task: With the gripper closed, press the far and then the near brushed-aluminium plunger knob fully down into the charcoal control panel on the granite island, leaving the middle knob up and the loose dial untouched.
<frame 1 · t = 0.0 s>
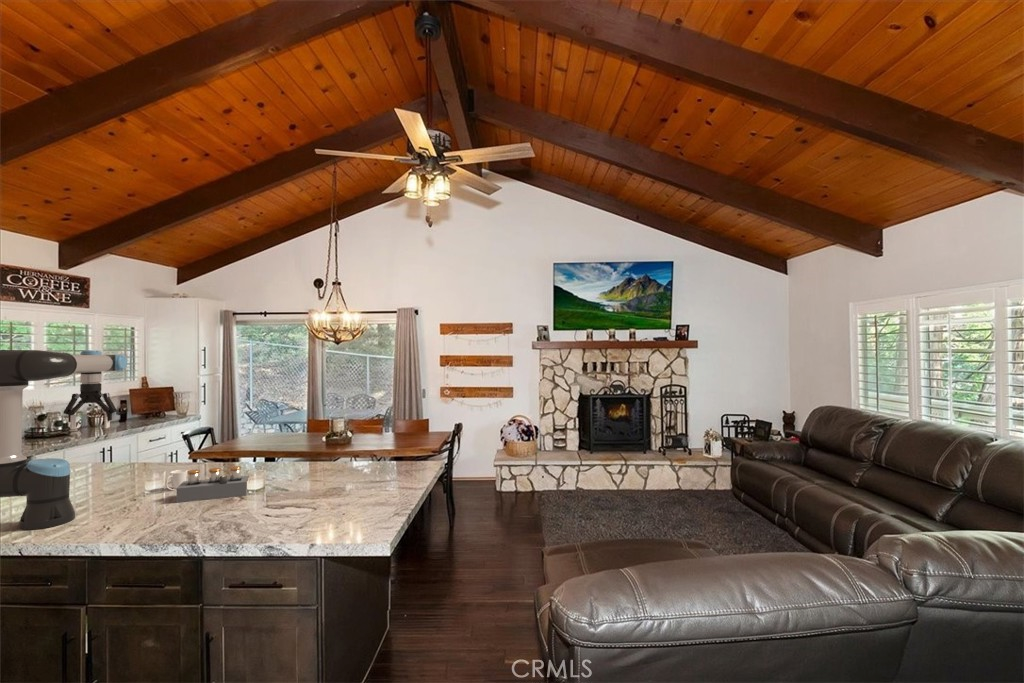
hand: (90, 428, 226), 28 cm above the countertop, fingers open, 13 cm apart
cup: (175, 490, 223), on the countertop
knob near: (193, 478, 212), point 8 cm above the countertop, slide at 0.0 cm
knob far: (235, 474, 218), point 8 cm above the countertop, slide at 0.0 cm
knob mid: (214, 476, 215), point 8 cm above the countertop, slide at 0.0 cm
panel: (214, 495, 214), on the countertop
dial: (223, 483, 212), point 6 cm above the countertop, touching panel
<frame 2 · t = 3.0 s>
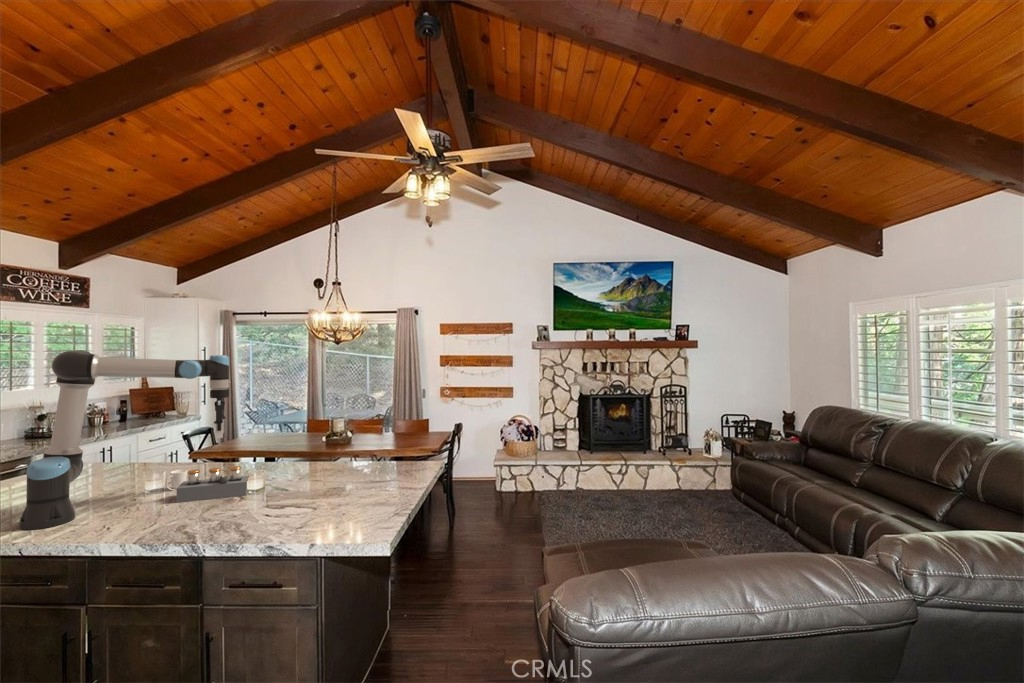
hand: (219, 435, 219), 26 cm above the countertop, fingers open, 13 cm apart
nothing on the countertop moved.
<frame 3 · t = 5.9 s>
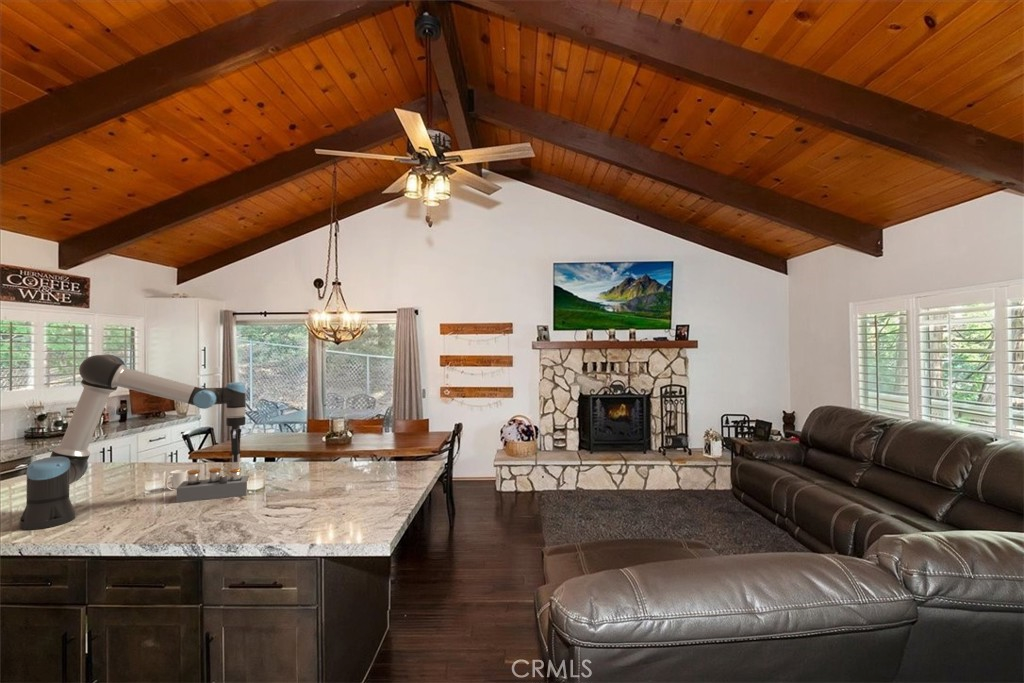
hand: (235, 468, 218), 11 cm above the countertop, fingers closed
knob far: (235, 476, 218), point 7 cm above the countertop, slide at 0.9 cm, touching gripper
everything else where it was.
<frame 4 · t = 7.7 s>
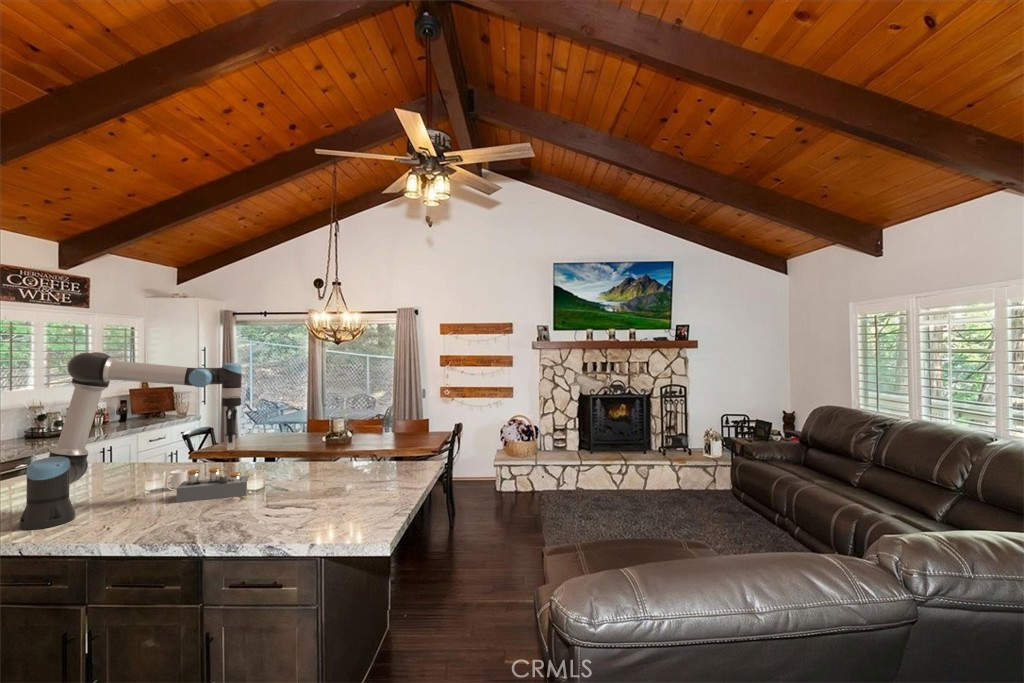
hand: (230, 449, 217), 20 cm above the countertop, fingers closed
knob far: (235, 480, 218), point 6 cm above the countertop, slide at 2.8 cm
everything else where it was.
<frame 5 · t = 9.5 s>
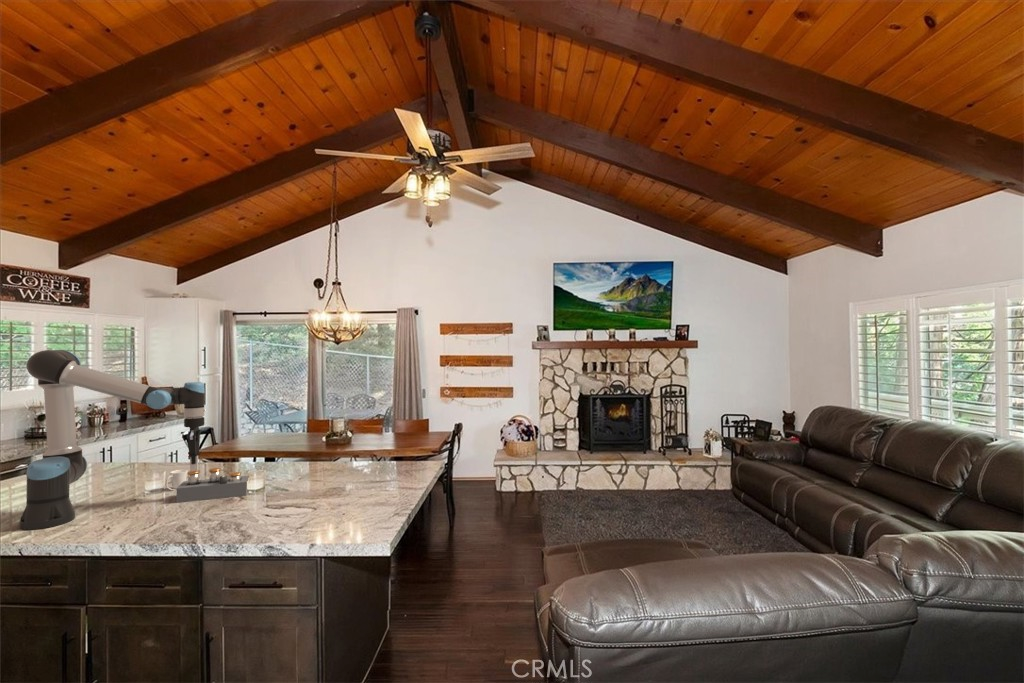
hand: (194, 471, 212), 12 cm above the countertop, fingers closed
knob near: (193, 479, 212), point 8 cm above the countertop, slide at 0.4 cm, touching gripper
everything else where it was.
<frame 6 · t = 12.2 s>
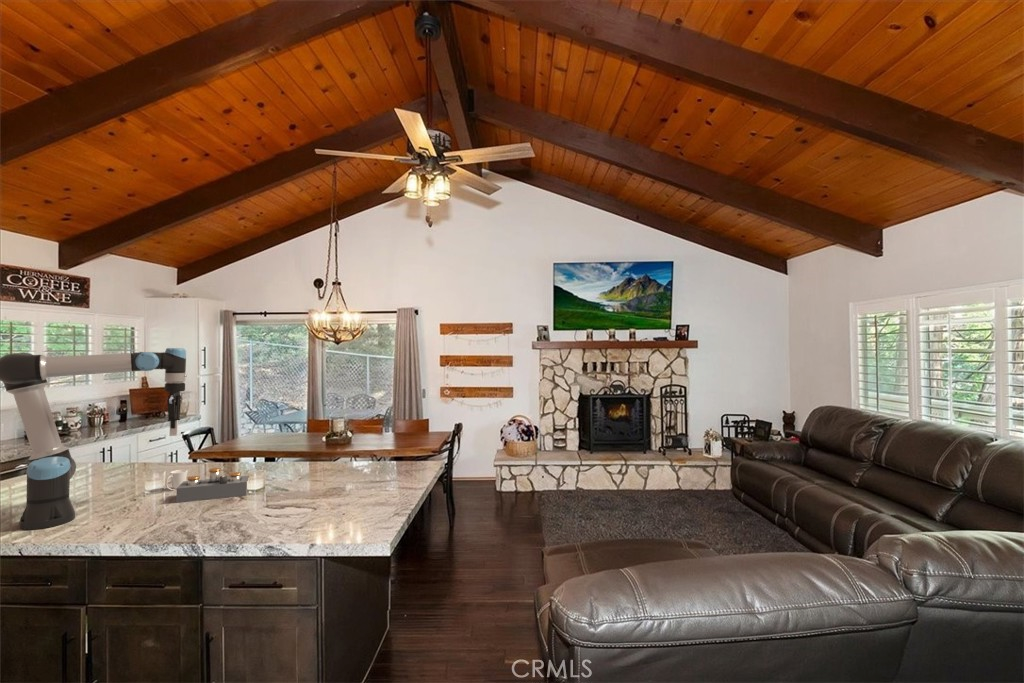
hand: (173, 435, 215), 27 cm above the countertop, fingers closed
knob near: (193, 484, 211), point 6 cm above the countertop, slide at 2.8 cm
everything else where it was.
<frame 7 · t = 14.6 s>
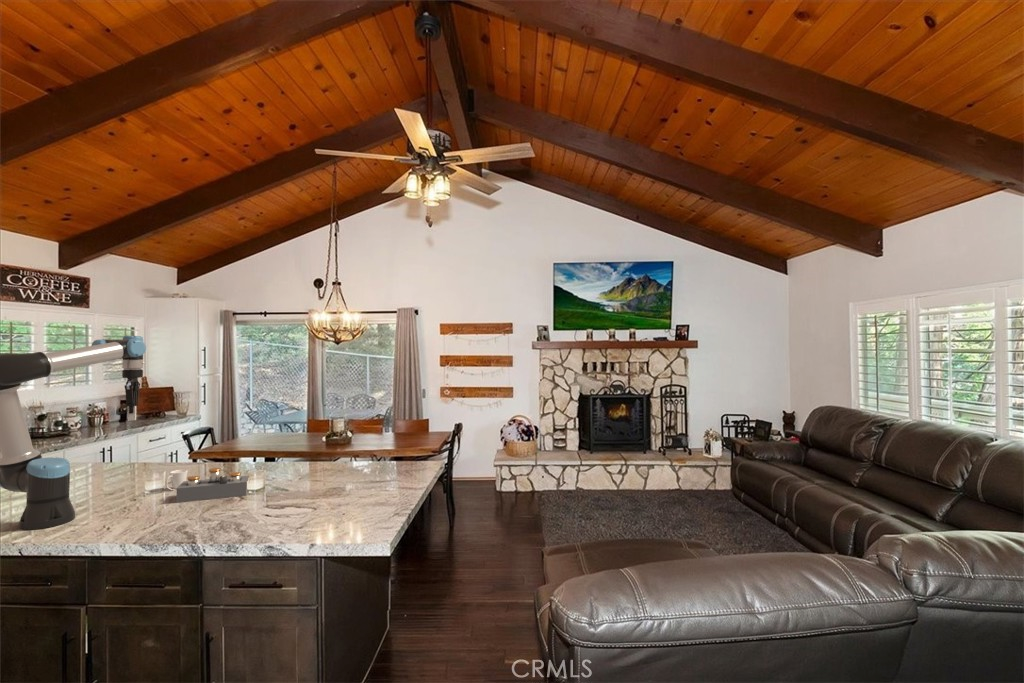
hand: (132, 420, 222), 32 cm above the countertop, fingers closed
nothing on the countertop moved.
at the end: knob far slide at 2.8 cm; knob near slide at 2.8 cm; dial moved 0.0 cm from its start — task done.
